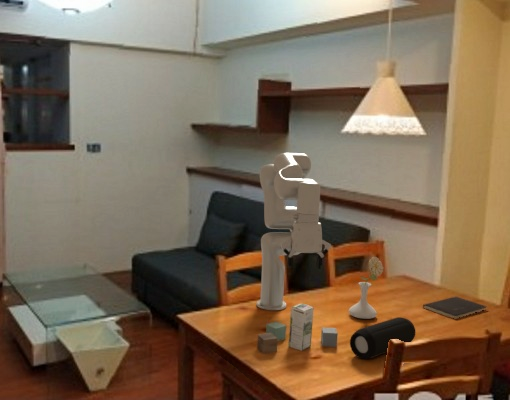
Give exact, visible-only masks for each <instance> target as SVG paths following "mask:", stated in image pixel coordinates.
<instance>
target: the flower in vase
mask: <svg viewBox="0 0 510 400" xmlns="http://www.w3.org/2000/svg"><path fill="white" fill-rule="evenodd" d="M368 269H369V271H370V272H369V275H368V277H364V276H362V275H361V277H360V279H361V280H363V281H360V282H358V285H359V287H360V294H361V295H360V300H359V301H358V302H357V303H355V304H353V305H352V306H351V307H349V309H348V313H349V314H350V315H351V316H352V317H355V318H357V319H362V320H363V319H364V320H368V319H373V318H376V316H377V315H378V314H377V311H376V309H375V308H374V307H373V306H372V305H371V304H369V303H368V301H367V299H368V298H367V296H368V291H369V288H370V287H371V286H372V283H371V282H368V280H369V279H371V281H375V280H378V277H379V276H380V275H382V274H383V272H384V266H383V263H382V261H381V260H380V259H379V258H378V257H377V256H372V257H371V259H369V261H368Z"/></svg>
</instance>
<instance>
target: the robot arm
mask: <svg viewBox="0 0 510 400" xmlns="http://www.w3.org/2000/svg"><path fill="white" fill-rule="evenodd" d="M311 169H312V161H311V158H310V157H309V156H308V155H307V154H306V153H301V152H300V153H298V152H283V153H282V152H281V153H279V154H277V155H276V156H275V157H274V159H273V163H268V164H265V165H263V166H261V168H260V171H259V181H260V182H259V183H260V187H261V189H262V191H263V197H264V198H263V206H264V207H263V209H264V211H263V213H264V219H263V220H264V225H265V227H266V228H268V229H270V230H271V229H272V230H274V229H275V230H289V232H285V231H284V232H282V231H279V232H277V231H276V232H275V231H273V232H271V231H270V232H266V233H264V234H263V235H262V236H261V239H260V247H261V280H260V281H261V283H260V284H261V286H260V299H259V300H257V301H256V306H257V307H258V308H259V309H261V310H266V311H281V310H284V309H286V308H287V303H286V301H284V292H285V291H284V288H285V285H284V284H285V269H286V268H285V267H286V266H285V263H284V262H283V260H282V259H281V258H280V257H281V256H287V267H289V269H290V270H292V269H293V270H294V257H293V256H297V255H300V254H301V253H302V254H303V253H304V254H317V255H316V264H315V267H316V268H317V269H318V270H321V269H322V266H323V258H324V257H325V255H327V254H328V252H329V250H330V248H331V246H332V244H331V243H329V242H327V241H326V240H324V239H323V231H322V230H323V229H322V223H321V222H319V221H320V220H319V219H320V204H321V203H320V201H321V185H320V183H319V182H317V181H316V180H314V179H312V178H307V177H308V175H309V173H310V172H311ZM285 201H296V206H293V205H292V206H291V205H290V206H289V205H285ZM323 245H324V248H323Z"/></svg>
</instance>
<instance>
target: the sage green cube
mask: <svg viewBox="0 0 510 400" xmlns="http://www.w3.org/2000/svg"><path fill="white" fill-rule="evenodd" d="M265 326H266V327H265V331H266V332H265V333H272V334H273V335H274V336H276V337H277V338H278V339H277V342H279V341H283V340H285V339H286V337H287V336H286V335H287V333H286V332H287V325H286V324H283V323H282V322H279V321H273V322H269V323H266V324H265Z"/></svg>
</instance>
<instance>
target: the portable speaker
mask: <svg viewBox="0 0 510 400" xmlns="http://www.w3.org/2000/svg"><path fill="white" fill-rule="evenodd" d="M415 337H416V327H415V325H414V324H413V322H412V321H411V320H409V319H408V318H405V317H401V316H400V317H395V318H390V319H388V320H384V321H382V322H378V323H375V324H371V325H368V326H365V327H362V328H359V329H357V330H356V331H354V333H353V334H352V335H351V336H350V339H349V346H350V349H351V351H352V353H353V354H354V355H355V356H356V357H357V358H359V359H364V360H370V359H372V358H375V357H377V356H380V355H383V354H386V353H388V352H387V348H388V342H389V340H390V339H399V340H401V341H404V342H411V343H412V342H413V340H414V339H415Z"/></svg>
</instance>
